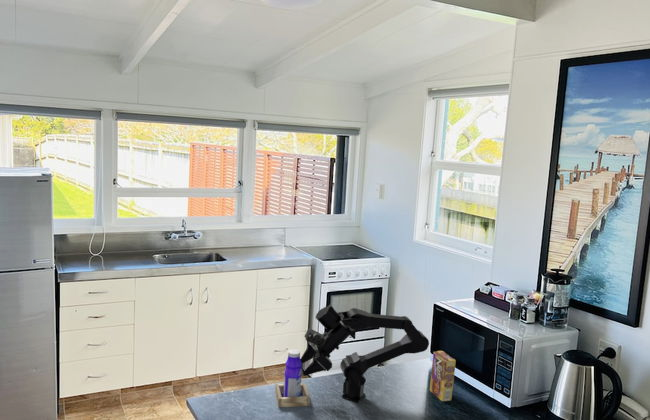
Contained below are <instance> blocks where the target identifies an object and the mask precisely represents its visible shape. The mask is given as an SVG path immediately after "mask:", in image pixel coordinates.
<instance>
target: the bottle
mask: <svg viewBox="0 0 650 420" xmlns="http://www.w3.org/2000/svg"><path fill="white" fill-rule="evenodd" d="M287 353H288V354H287V358H286V359H287V360H286V362H285V369H284V378H283V379H284V380H283V381H284V382H283V384H284V393H283V397H302V396H301V395H302V393H301V383H302V375H303V368H302V365H303V363H302V362H301V360H300V359H301V351H300V350H299V349H289V350H288V352H287Z"/></svg>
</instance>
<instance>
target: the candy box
mask: <svg viewBox="0 0 650 420" xmlns="http://www.w3.org/2000/svg"><path fill="white" fill-rule="evenodd" d="M456 361H457V360H456V359H455V358H453V357H452V356H450V355H449V354H447V353H446V352H445V351H443V350H437V351H433V355H432V364H431V365H432V366H431V372H430V373H431V375H430V385H429V391H430V392H431V393H432V395H434V396H436V398H438V400H440V401H441V402H449V401H452V398H453V388H454V381H455V373H456V372H455V370H456Z"/></svg>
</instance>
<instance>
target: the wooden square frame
mask: <svg viewBox="0 0 650 420" xmlns="http://www.w3.org/2000/svg"><path fill="white" fill-rule="evenodd" d="M308 390H309V389H308V388H307V385H306V382H301V394H302V395H303V396H300V397H284V396H283V397H282V394H284V383H276V384H275V386H274V393H275V399H276V402H277V403H276V404H277V407H278V408H291V407H292V408H293V407H310V404H311V397H310V393H309V391H308Z"/></svg>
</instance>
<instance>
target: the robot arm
mask: <svg viewBox="0 0 650 420" xmlns="http://www.w3.org/2000/svg"><path fill="white" fill-rule="evenodd" d="M315 319H316V320H317V322H318V323H320V325H322V326H323V327H324V329H325V330H329V331H328V332H327V331H325V332H322V333H320V332H319V331H316V330H314V329H312V328H310V327H309V328H307V331H306V332H305V334H304V338H305V341H306V349H305V351H304V353H303V354H302V355H301V356H300V360H301V362H302V364H304V363H306V362H308V361H310V360H311V362H310V364H309V365H308V366H307V367H306V369H304V371H302V375H303V376H305V377H307V376H309V375H312V374H316V373H319V372H323V371H324V372H329V371H330V370H331V369H332V368H333V362H332V360H331V359H330V358H331V354H332V353H333V352H334V351H335V350H337V351H339V349H340V345H341V344H342V343H344V342H345V341H346V340H347V339H348V338H349V337H352V339H353V340H355V339H356V333H357V331H359V330H360V331H361V330H366V329H370V328H381V329H392V330H394V329H395V330H403V331H404V333H405V334H404V336H402V338H401V339H400V340H399V341H396V342H393V343H391V344H389V345H386V346H384V347H382V348H381V347H380V348H378V349H376V350H374V351H372V352H369V353H367V354H364V355H359V354H358V352H353V353H351V354H348V355H345V357H344V358H342V360H341V361H340V365H339V366H340V370H341V372H342V374H343V376H344V377H345V379H344V382H343V385H342V395H341V398H344V399H346V400H350V401H353V402H356V403H359V402H360V401H361V400H362V399H363V398H364V397H365V396H366V393H365V391H364V390H365V383H366V381H367V379H366V377H365V375H364V374H366V372H367V371H368V370H369V369H370V368H374V367H376V366H378V365H381V364H383V363H385V362H388V361H390V360H392V359H393V360H394V359H395V358H398V357H400V356H402V355H405V354H419V353H423V352H425V351H426V350H428V347H429V346H430V341H429V339H428V338H427V336H426V335H424V333H423V332H422V331H420V330H418V329H417V327H416V326H415V325H414V323H413V321H412V320H411V319H410V318H409V317H408V316H405V315H403V316H402V315H401V316H397V315H390V314H389V315H388V314H378V313H377V314H376V313H372V312H368V311H366V310H364V309H359V308H357V307H356V308H355V307H354V308H350V309H349V310H345V311H340V312H337V310H335V308H334V307H333V306H332V304H329V305H327V306H324V307H322V308H320V309H319V310H318V312H317V313H316V315H315Z"/></svg>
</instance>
